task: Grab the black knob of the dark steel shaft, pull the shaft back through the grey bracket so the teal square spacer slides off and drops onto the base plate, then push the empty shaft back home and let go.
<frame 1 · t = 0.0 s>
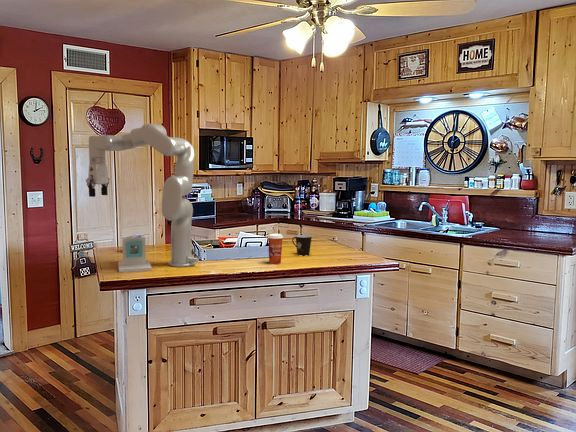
hand: (98, 195, 260), 31 cm above the countertop, tool pointing down, fingers open, 9 cm apart
spacer: (134, 256, 242), point 5 cm above the countertop, touching shaft
medicine box: (134, 252, 281), on the countertop
paper cup: (275, 263, 259), on the countertop
coffee mug: (302, 254, 282), on the countertop
shaft: (133, 245, 247), point 10 cm above the countertop, slide at 0.0 cm, touching spacer
bracket: (134, 266, 245), on the countertop
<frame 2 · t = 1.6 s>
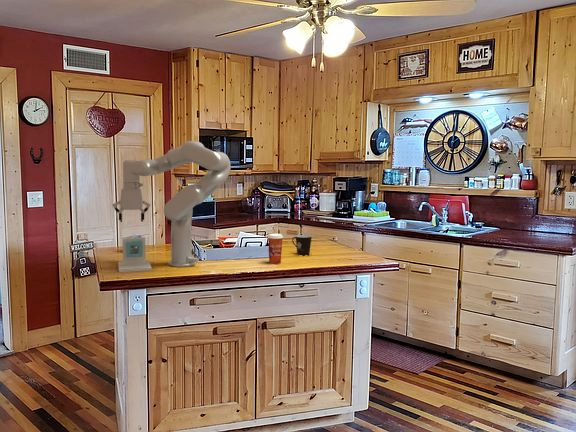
hand: (131, 221, 253), 20 cm above the countertop, tool pointing down, fingers open, 9 cm apart
nothing on the countertop moved.
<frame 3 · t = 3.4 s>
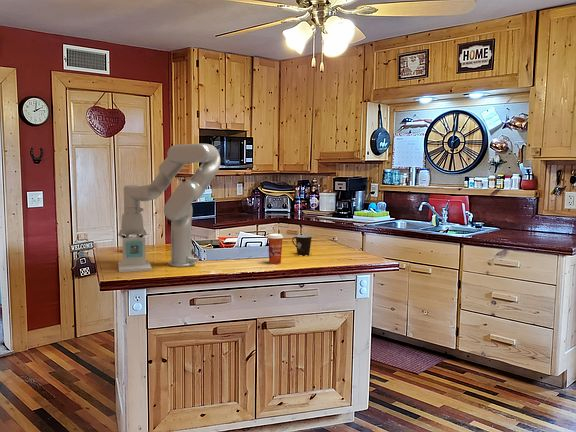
hand: (132, 248, 255), 7 cm above the countertop, tool pointing down, fingers closed on shaft, 3 cm apart
shaft: (133, 245, 247), point 10 cm above the countertop, slide at 0.0 cm, touching gripper, spacer
everything else where it was.
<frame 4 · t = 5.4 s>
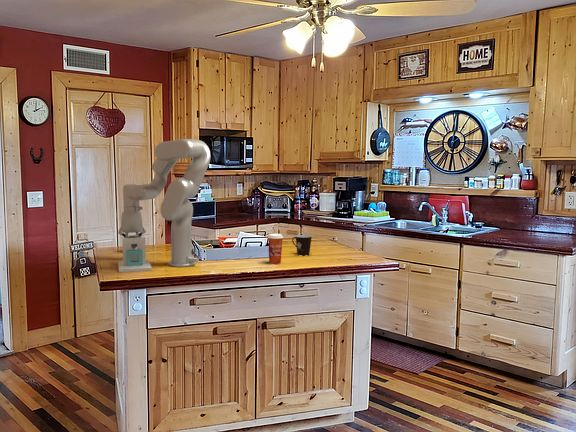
hand: (132, 245, 261), 7 cm above the countertop, tool pointing down, fingers closed on shaft, 3 cm apart
spacer: (134, 265, 243), point 1 cm above the countertop, touching bracket
shaft: (132, 243, 254), point 10 cm above the countertop, slide at 6.9 cm, touching gripper
everything else where it was.
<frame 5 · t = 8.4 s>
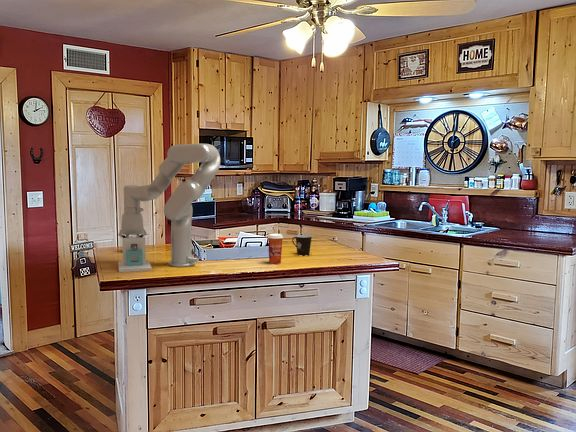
hand: (132, 248, 255), 7 cm above the countertop, tool pointing down, fingers closed on shaft, 3 cm apart
shaft: (133, 245, 247), point 10 cm above the countertop, slide at 0.0 cm, touching gripper
everything else where it was.
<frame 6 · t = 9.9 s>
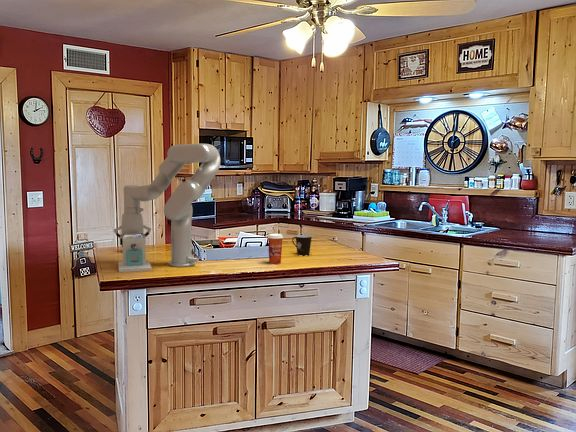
hand: (132, 246, 255), 8 cm above the countertop, tool pointing down, fingers open, 9 cm apart
shaft: (133, 245, 247), point 10 cm above the countertop, slide at 0.0 cm
everything else where it was.
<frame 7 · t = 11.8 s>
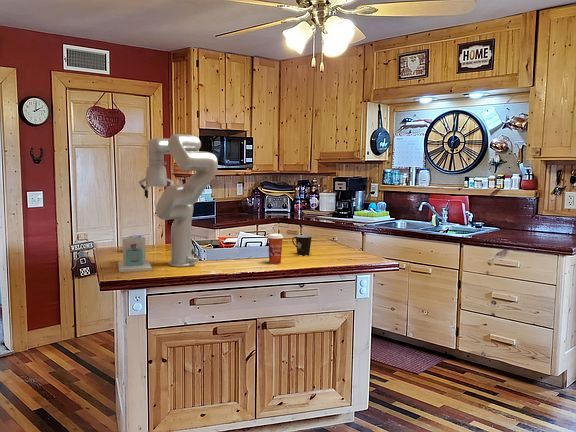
hand: (156, 197, 266), 30 cm above the countertop, tool pointing down, fingers open, 9 cm apart
nothing on the countertop moved.
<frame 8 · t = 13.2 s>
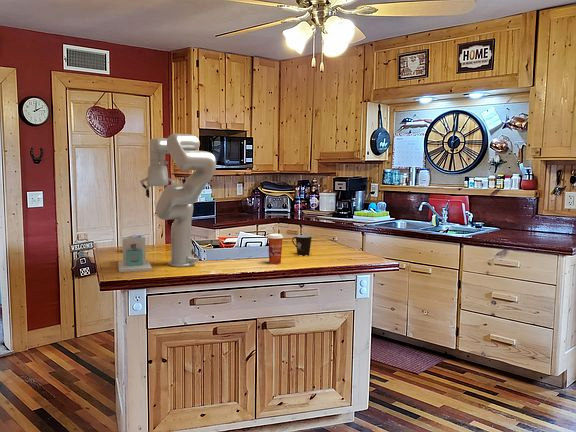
hand: (158, 197, 267), 30 cm above the countertop, tool pointing down, fingers open, 9 cm apart
nothing on the countertop moved.
at the end: spacer inside the target area on the bracket (0.8 cm from its centre), point 1.2 cm above the bracket's base; shaft slide at 0.0 cm; the gripper is holding nothing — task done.
